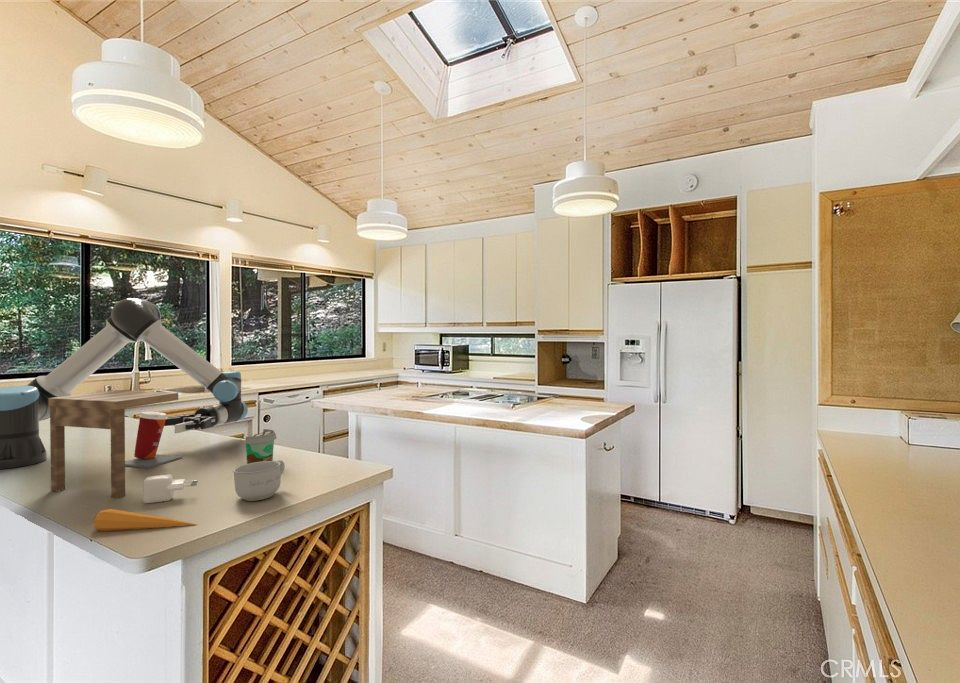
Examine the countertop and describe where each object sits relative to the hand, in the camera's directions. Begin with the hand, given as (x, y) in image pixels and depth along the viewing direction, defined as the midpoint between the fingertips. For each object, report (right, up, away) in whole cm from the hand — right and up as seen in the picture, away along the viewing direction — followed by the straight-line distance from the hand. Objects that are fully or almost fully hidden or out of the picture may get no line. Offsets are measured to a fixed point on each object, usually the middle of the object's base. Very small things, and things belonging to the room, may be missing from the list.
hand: (158, 428), depth 154 cm
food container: (+36, -11, -4) cm, 38 cm away
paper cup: (-4, -9, 0) cm, 10 cm away
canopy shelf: (+5, -11, -24) cm, 27 cm away
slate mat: (-1, -10, -2) cm, 11 cm away
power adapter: (+27, -11, -35) cm, 46 cm away
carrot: (+33, -12, -52) cm, 63 cm away
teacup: (+48, -12, -32) cm, 59 cm away
